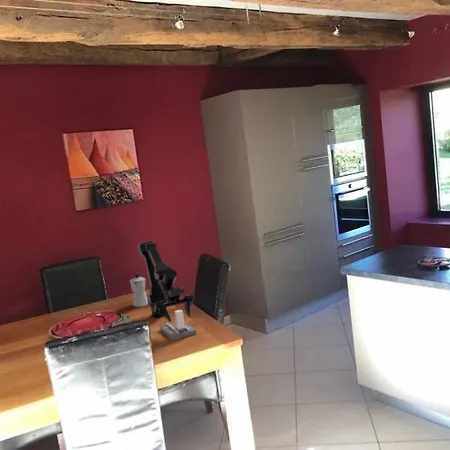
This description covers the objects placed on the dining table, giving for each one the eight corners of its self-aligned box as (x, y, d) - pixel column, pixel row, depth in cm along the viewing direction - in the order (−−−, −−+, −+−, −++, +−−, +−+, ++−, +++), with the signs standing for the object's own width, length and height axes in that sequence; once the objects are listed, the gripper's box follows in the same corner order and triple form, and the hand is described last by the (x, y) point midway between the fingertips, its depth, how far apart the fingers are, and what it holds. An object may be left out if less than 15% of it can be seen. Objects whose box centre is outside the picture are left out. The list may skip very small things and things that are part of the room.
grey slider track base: (160, 330, 238) (159, 324, 238) (183, 324, 244) (183, 318, 243) (171, 340, 224) (171, 334, 224) (196, 333, 229) (195, 327, 229)
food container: (127, 344, 225) (124, 323, 223) (114, 344, 226) (111, 323, 224) (137, 333, 237) (134, 313, 235) (125, 333, 238) (122, 313, 236)
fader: (175, 329, 230) (173, 311, 229) (183, 327, 232) (181, 309, 231) (177, 331, 228) (175, 312, 226) (186, 329, 229) (183, 310, 228)
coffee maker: (146, 307, 275) (142, 275, 272) (130, 308, 275) (126, 277, 273) (150, 299, 290) (147, 268, 287) (135, 300, 290) (131, 270, 287)
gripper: (152, 285, 227) (163, 315, 218) (190, 277, 234) (202, 305, 226) (149, 298, 235) (159, 327, 227) (186, 289, 243) (197, 317, 234)
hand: (180, 319), depth 228 cm, fingers open, 9 cm apart
